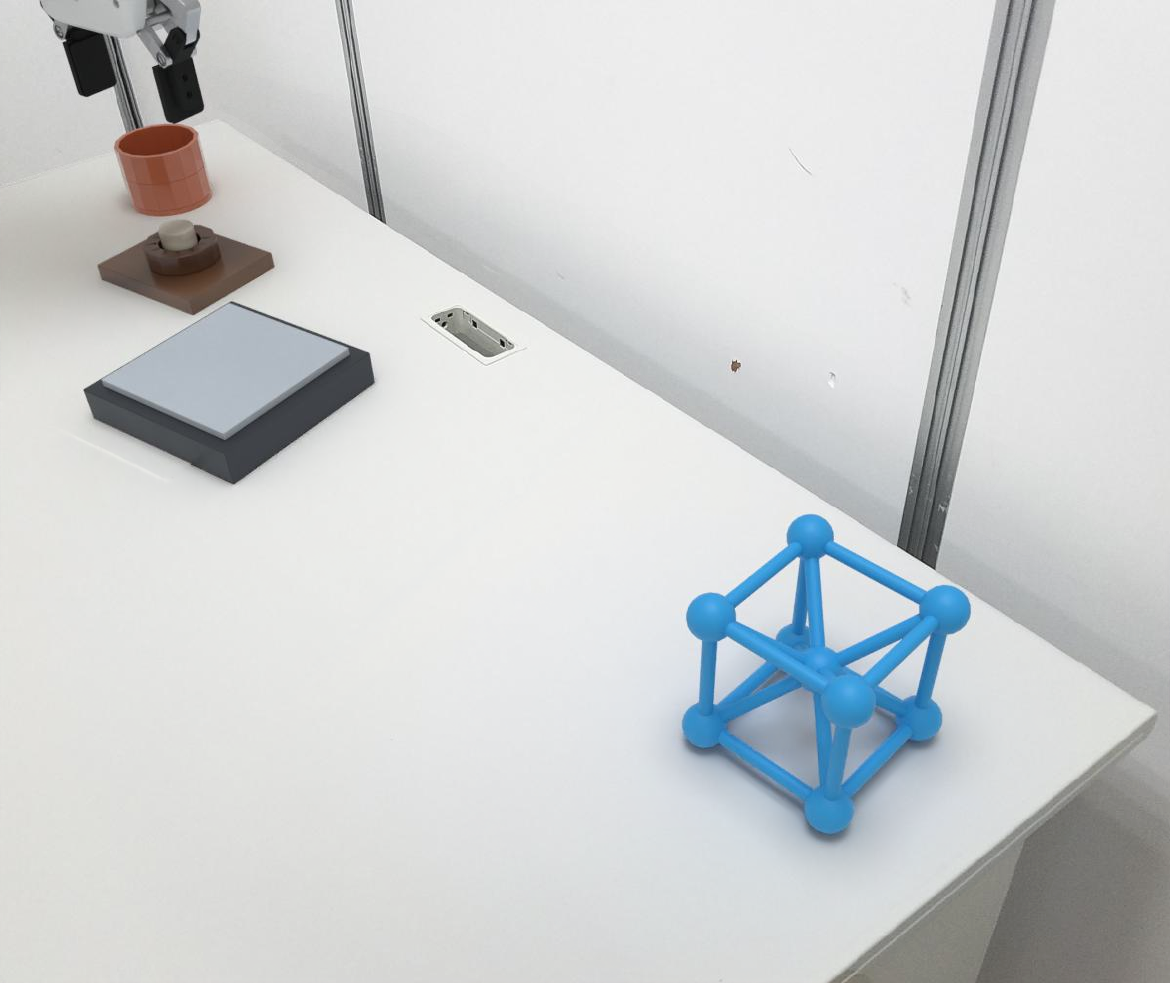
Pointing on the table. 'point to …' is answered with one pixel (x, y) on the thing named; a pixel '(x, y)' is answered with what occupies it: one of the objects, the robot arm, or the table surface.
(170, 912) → the table surface
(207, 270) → the panel
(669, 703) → the table surface
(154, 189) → the terracotta cup
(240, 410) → the scale
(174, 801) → the table surface
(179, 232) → the button
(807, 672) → the molecular structure
